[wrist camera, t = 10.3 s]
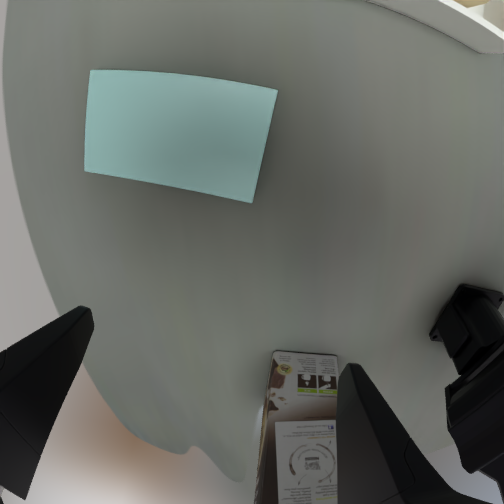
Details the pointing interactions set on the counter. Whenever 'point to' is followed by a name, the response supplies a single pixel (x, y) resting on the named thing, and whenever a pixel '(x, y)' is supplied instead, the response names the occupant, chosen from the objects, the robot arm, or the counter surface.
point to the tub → (458, 19)
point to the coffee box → (299, 431)
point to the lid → (178, 130)
